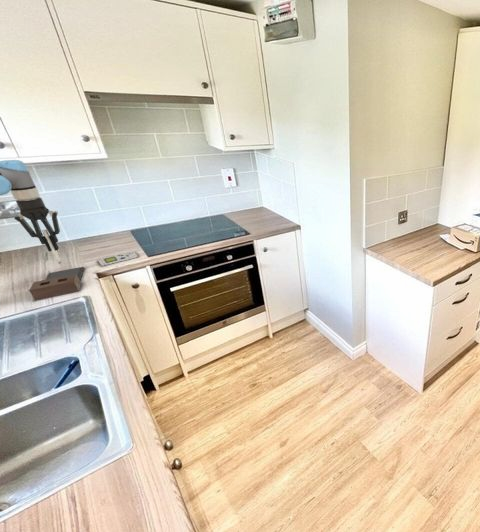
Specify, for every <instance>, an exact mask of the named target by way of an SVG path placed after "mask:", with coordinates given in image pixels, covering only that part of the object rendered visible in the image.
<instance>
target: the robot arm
mask: <svg viewBox="0 0 480 532" xmlns="http://www.w3.org/2000/svg"><path fill="white" fill-rule="evenodd" d="M8 193H11V195H12V197H13V199H14V200H15V203H16V205H17V207H18V209H19V210H20V212H19V214H18V215H16V216H14V217H13V219H14V220H15V221H17V222H19V223H20V224H21V226H22V227H23V228H24V230H25V231H26V232H27V233H28V235H29V236H30V237H31V238H37V239H38V240H39V242H40V244H41V245H45V247H46V249H47V251H48V252H52V251H51V249H50V246H49V244H48V242H47V240H46V238H45V236H44V234H43V232H42V229H41V227H40V224H39V222H38V221H40V222H41V223H42V224H43V226H44V227H45V230H47V231H48V234H49V238H50V240H51V242H52V244H53V246H54V248H55V250H56V251H58V250H59V246H58V244H57V243H59V238H58V237H57V235H59V234H60V232H61V230H60V225H59V221H58V212H59V211H56V210H55V211H53V210H49V208H48V207H46V205H45V202H44V200H43V199H42V197H41V194H40V192H39V190H38V188H37V186H36V184H35V182H34V180H33V178H32V175H31V173H30V170H29V169H28V167H27V166H26V164H25V162H24V161H22V160H19V159H7V160H6V159H4V160H0V196H4V195H7V194H8ZM48 215H49V216H50V217H51V221H52V224H53V227H52V225H51V224H50V222H49V220H48V218H47V217H48ZM25 218H26V219H28V220H30V223H31V224H32V226H33V228H32V226H31V225H30V224H29V222H27V220H25Z"/></svg>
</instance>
